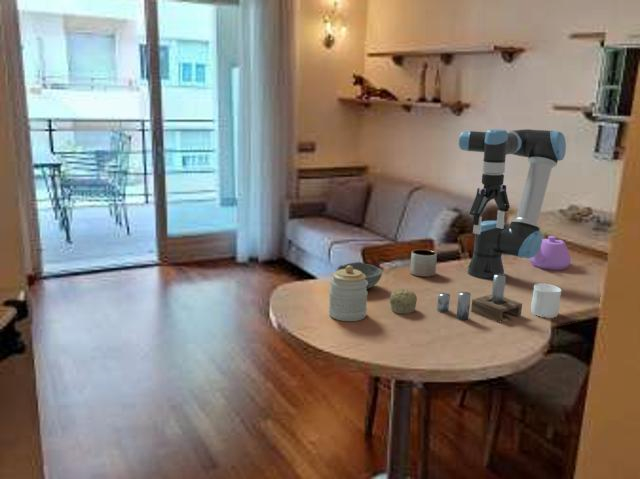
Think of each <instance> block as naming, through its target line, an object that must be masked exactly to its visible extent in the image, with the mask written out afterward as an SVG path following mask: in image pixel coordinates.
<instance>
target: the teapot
mask: <svg viewBox="0 0 640 479" xmlns="http://www.w3.org/2000/svg"><path fill="white" fill-rule="evenodd" d="M547 237H548V238H542V244H541V247H540V249H539V251H538V252H537V254H536V255H535V256H534V257H532V258H528V260H529V262H530V263H531V264H532V266H534V267H536V268H539V269H543V270H550V271H551V270H552V271H562V270H566V269H567V267H569V266H570V265H571V255H570V252H569V249H568V247H567V245H566V241H564V240H562V239H557V236H553V235H549V236H547Z"/></svg>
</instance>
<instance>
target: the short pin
mask: <svg viewBox="0 0 640 479" xmlns="http://www.w3.org/2000/svg"><path fill="white" fill-rule="evenodd" d="M437 297H438V298H437V307H436V311H437V312H439V313H448V312H450V310H449V309H450V300H451V294H450V293H447V292H439V293H438V295H437Z"/></svg>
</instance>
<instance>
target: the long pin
mask: <svg viewBox="0 0 640 479" xmlns="http://www.w3.org/2000/svg"><path fill="white" fill-rule="evenodd" d="M506 280H507V276H506V275H505V274H504V275H503V274H494V279H493V282H492V291H491V294H492V299H491V303H494V304H497V305H501V304H503V299H504V297H505V289H506V282H507V281H506Z"/></svg>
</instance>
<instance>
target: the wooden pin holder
mask: <svg viewBox="0 0 640 479" xmlns="http://www.w3.org/2000/svg"><path fill="white" fill-rule="evenodd" d="M491 299H492V293H491V294H487V295H484V296H480V297H476V298H473V299H472V301H471V310H470V312H472V313H474V314H476V315H479V316H481V317H484V318H487V319H490V320H492V321H494V320H495V321H494V322H497V323H501V322H503V314H504V312H505V313H507V314H510V313H511V315H513V314H514V316H516V317H520V315H521V316H522V309H523V303H522V302H519V301H516V300H513V299H510V298H508V297H505V296H504V299H503V304H501V305H497V304H494V303H491ZM500 321H501V322H500Z"/></svg>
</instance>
